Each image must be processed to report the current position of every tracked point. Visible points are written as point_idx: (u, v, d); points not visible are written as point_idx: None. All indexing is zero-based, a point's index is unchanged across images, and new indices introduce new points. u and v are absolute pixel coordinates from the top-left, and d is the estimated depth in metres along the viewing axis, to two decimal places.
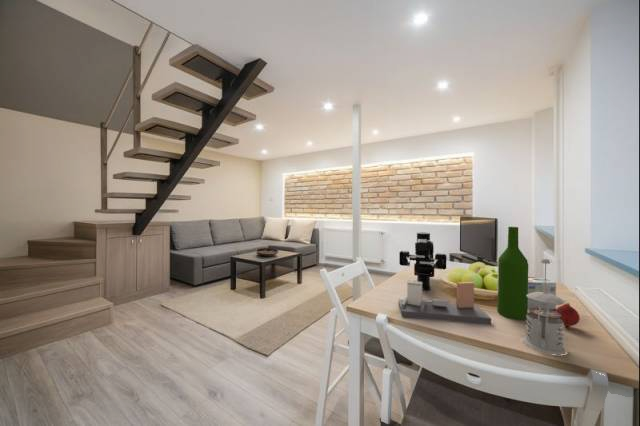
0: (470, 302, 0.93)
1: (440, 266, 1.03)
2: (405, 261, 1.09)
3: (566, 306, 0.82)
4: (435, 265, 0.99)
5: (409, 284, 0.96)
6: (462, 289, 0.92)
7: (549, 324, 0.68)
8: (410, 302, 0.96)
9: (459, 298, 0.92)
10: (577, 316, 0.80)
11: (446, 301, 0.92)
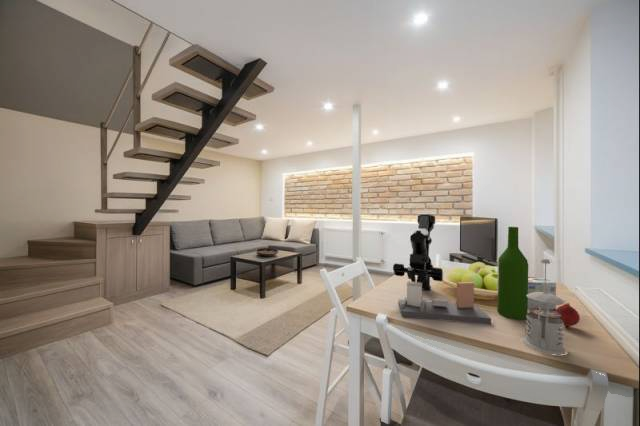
0: (470, 302, 0.93)
1: (424, 279, 1.01)
2: (411, 276, 1.03)
3: (566, 306, 0.82)
4: None
5: (409, 285, 0.95)
6: (462, 289, 0.92)
7: (549, 324, 0.68)
8: (410, 303, 0.95)
9: (459, 298, 0.92)
10: (577, 316, 0.80)
11: (446, 301, 0.92)
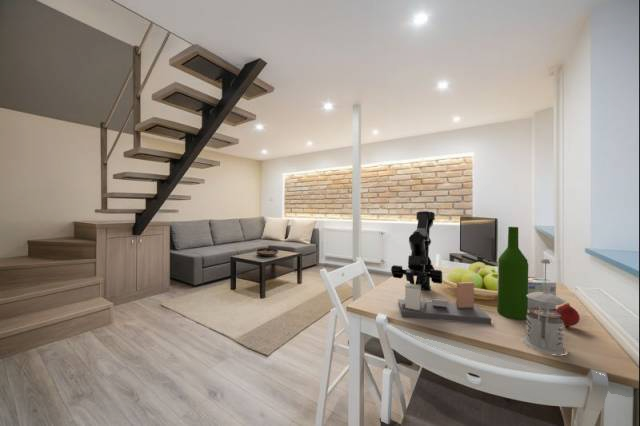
0: (470, 302, 0.93)
1: (423, 281, 0.98)
2: (409, 278, 1.00)
3: (566, 306, 0.82)
4: None
5: (407, 287, 0.92)
6: (462, 289, 0.92)
7: (549, 324, 0.68)
8: (408, 306, 0.92)
9: (459, 298, 0.92)
10: (577, 316, 0.80)
11: (446, 301, 0.92)
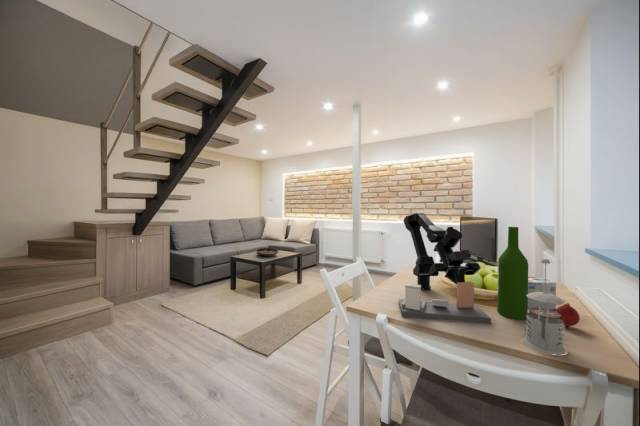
0: (470, 302, 0.93)
1: None
2: (450, 275, 0.98)
3: (566, 306, 0.82)
4: None
5: (407, 287, 0.92)
6: (462, 289, 0.92)
7: (549, 324, 0.68)
8: (408, 306, 0.92)
9: (459, 298, 0.92)
10: (577, 316, 0.80)
11: (446, 301, 0.92)
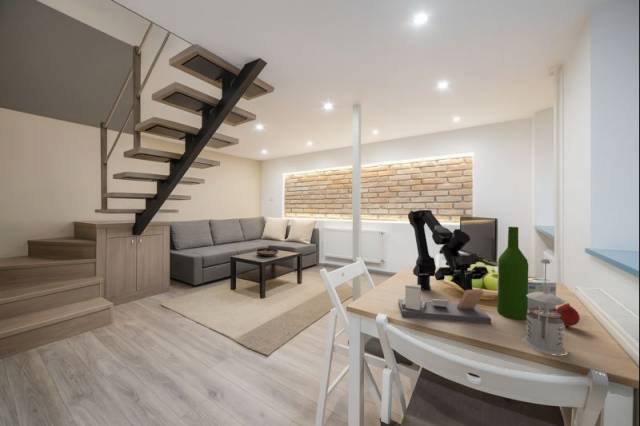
0: (472, 305, 0.91)
1: None
2: (456, 279, 0.94)
3: (566, 306, 0.82)
4: None
5: (407, 287, 0.92)
6: (469, 296, 0.88)
7: (549, 324, 0.68)
8: (408, 306, 0.92)
9: (463, 302, 0.90)
10: (577, 316, 0.80)
11: (446, 301, 0.92)
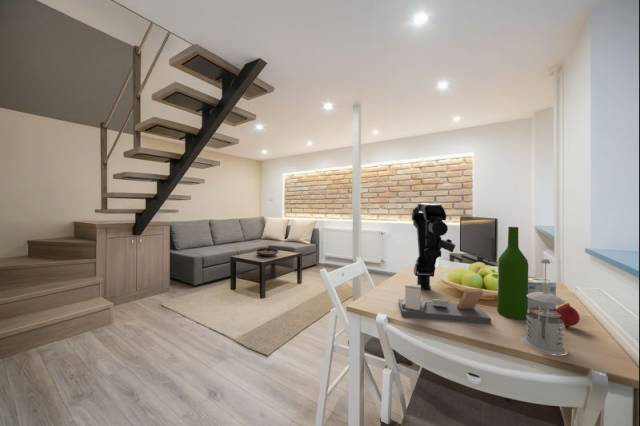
0: (472, 305, 0.91)
1: None
2: (430, 255, 1.05)
3: (566, 306, 0.82)
4: None
5: (407, 287, 0.92)
6: (469, 296, 0.89)
7: (549, 324, 0.68)
8: (408, 306, 0.92)
9: (462, 302, 0.90)
10: (577, 316, 0.80)
11: (446, 301, 0.92)
